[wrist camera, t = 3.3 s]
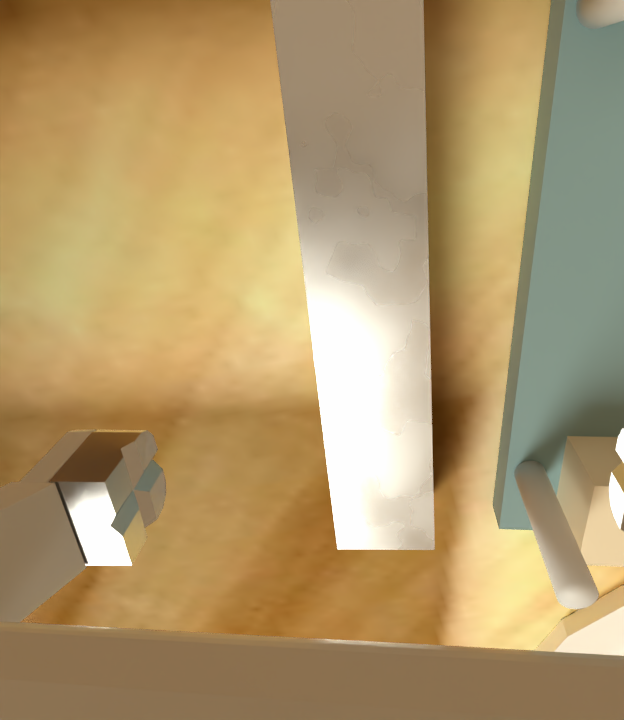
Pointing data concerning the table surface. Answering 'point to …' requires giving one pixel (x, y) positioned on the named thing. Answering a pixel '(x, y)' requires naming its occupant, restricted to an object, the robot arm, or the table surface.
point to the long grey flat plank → (365, 254)
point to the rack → (570, 309)
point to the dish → (591, 628)
